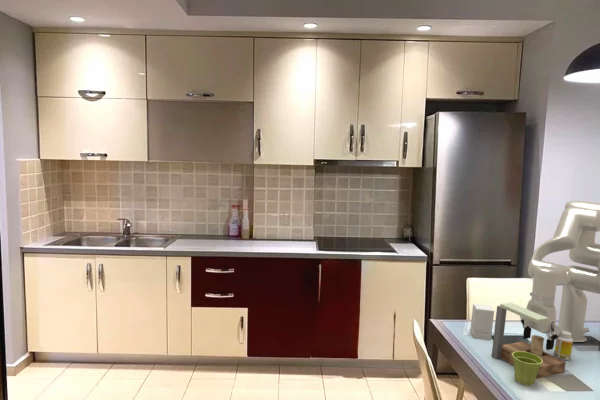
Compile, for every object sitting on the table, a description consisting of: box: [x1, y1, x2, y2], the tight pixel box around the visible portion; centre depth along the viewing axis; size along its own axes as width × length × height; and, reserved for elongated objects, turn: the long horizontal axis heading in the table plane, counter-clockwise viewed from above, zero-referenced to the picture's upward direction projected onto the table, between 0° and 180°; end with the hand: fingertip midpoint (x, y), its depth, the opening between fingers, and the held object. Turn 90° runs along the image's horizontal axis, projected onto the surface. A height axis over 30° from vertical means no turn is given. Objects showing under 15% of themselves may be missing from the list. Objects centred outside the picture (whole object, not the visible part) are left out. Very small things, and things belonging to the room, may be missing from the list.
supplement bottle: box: [553, 331, 574, 361], centre depth 176 cm, size 6×6×10 cm
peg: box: [530, 334, 545, 357], centre depth 170 cm, size 4×4×10 cm
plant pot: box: [512, 351, 543, 386], centre depth 155 cm, size 9×9×9 cm
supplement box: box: [470, 303, 495, 341], centre depth 193 cm, size 7×7×13 cm
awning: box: [491, 302, 549, 360], centre depth 166 cm, size 6×17×21 cm, turn 23°
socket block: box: [500, 341, 567, 379], centre depth 169 cm, size 14×18×4 cm
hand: (537, 343), depth 170 cm, fingers open, 9 cm apart
